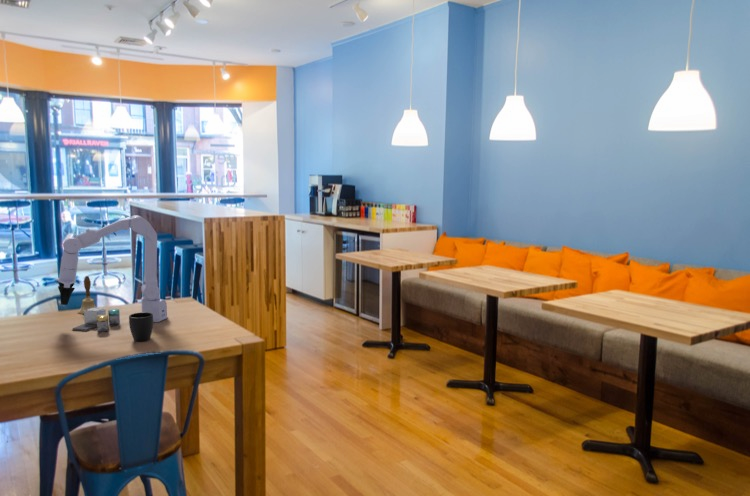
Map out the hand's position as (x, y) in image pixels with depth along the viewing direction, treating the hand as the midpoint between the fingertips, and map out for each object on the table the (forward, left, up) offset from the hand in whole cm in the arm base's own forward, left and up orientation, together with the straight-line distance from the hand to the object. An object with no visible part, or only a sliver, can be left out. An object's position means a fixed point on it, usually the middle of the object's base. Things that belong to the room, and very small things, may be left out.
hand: (64, 302), depth 216 cm
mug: (-36, +4, -11) cm, 38 cm away
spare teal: (-15, -9, -11) cm, 20 cm away
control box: (-7, -8, -11) cm, 15 cm away
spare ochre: (-16, 0, -11) cm, 19 cm away
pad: (-7, -2, -11) cm, 13 cm away
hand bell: (+9, -24, -11) cm, 28 cm away
